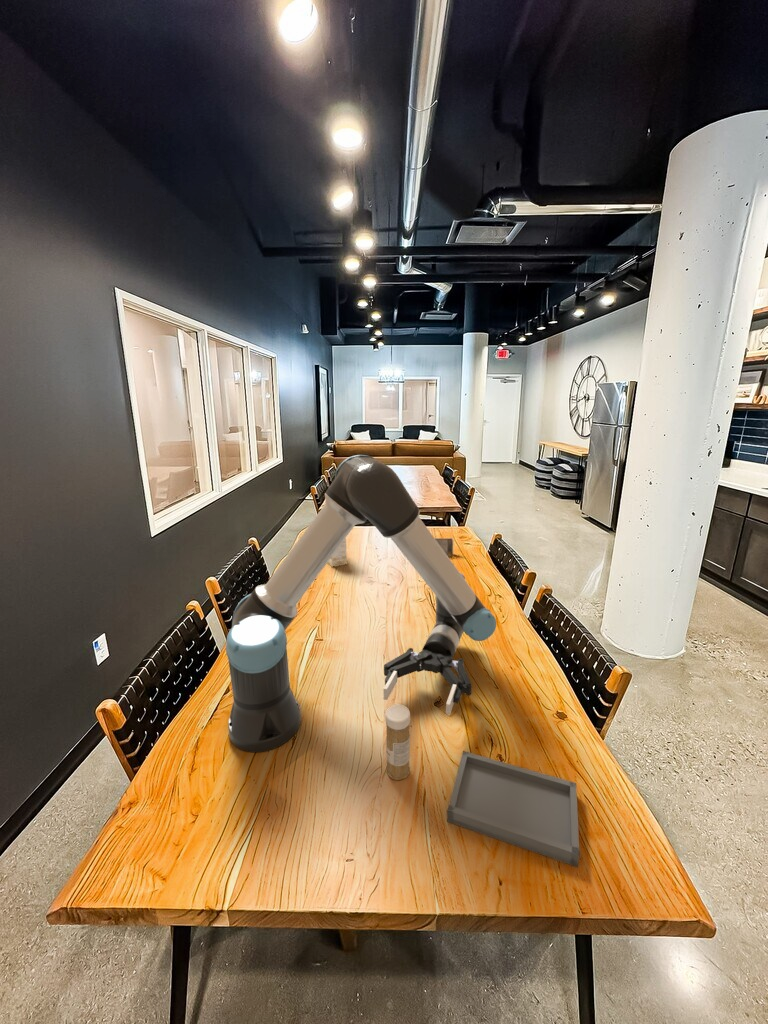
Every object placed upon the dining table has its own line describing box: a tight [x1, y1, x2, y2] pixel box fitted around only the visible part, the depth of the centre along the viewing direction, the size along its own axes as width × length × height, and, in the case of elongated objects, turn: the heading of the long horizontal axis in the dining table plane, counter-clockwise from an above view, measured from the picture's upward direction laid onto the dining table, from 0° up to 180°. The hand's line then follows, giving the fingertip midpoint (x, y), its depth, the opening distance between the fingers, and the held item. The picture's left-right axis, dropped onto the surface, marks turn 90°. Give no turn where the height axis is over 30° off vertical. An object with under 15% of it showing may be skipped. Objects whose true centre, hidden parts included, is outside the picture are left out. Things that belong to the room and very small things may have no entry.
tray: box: [446, 750, 580, 868], centre depth 73 cm, size 20×13×2 cm, turn 68°
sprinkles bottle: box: [384, 703, 411, 781], centre depth 79 cm, size 5×5×13 cm
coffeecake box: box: [327, 537, 348, 568], centre depth 182 cm, size 15×7×20 cm, turn 25°
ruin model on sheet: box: [434, 537, 454, 557], centre depth 187 cm, size 11×3×10 cm, turn 89°
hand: (415, 702), depth 89 cm, fingers open, 13 cm apart
